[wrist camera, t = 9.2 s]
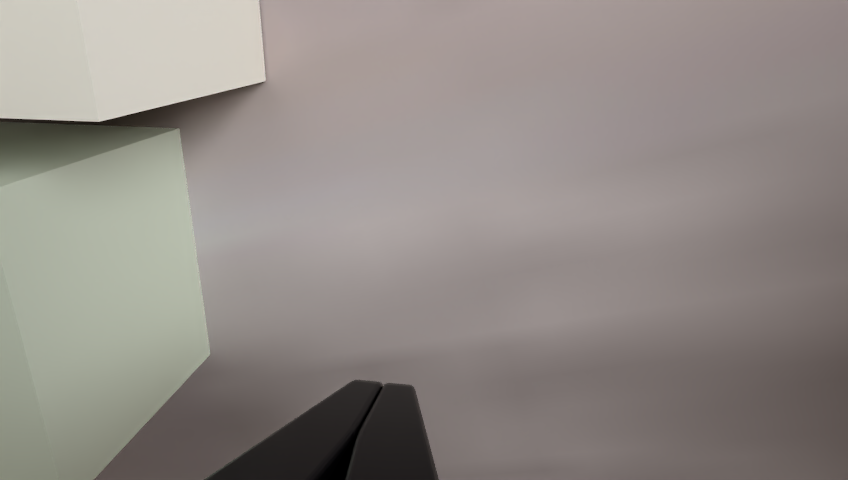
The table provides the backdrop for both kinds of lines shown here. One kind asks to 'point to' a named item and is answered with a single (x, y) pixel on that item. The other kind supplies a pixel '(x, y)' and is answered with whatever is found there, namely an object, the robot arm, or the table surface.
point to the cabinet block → (91, 292)
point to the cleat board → (123, 55)
